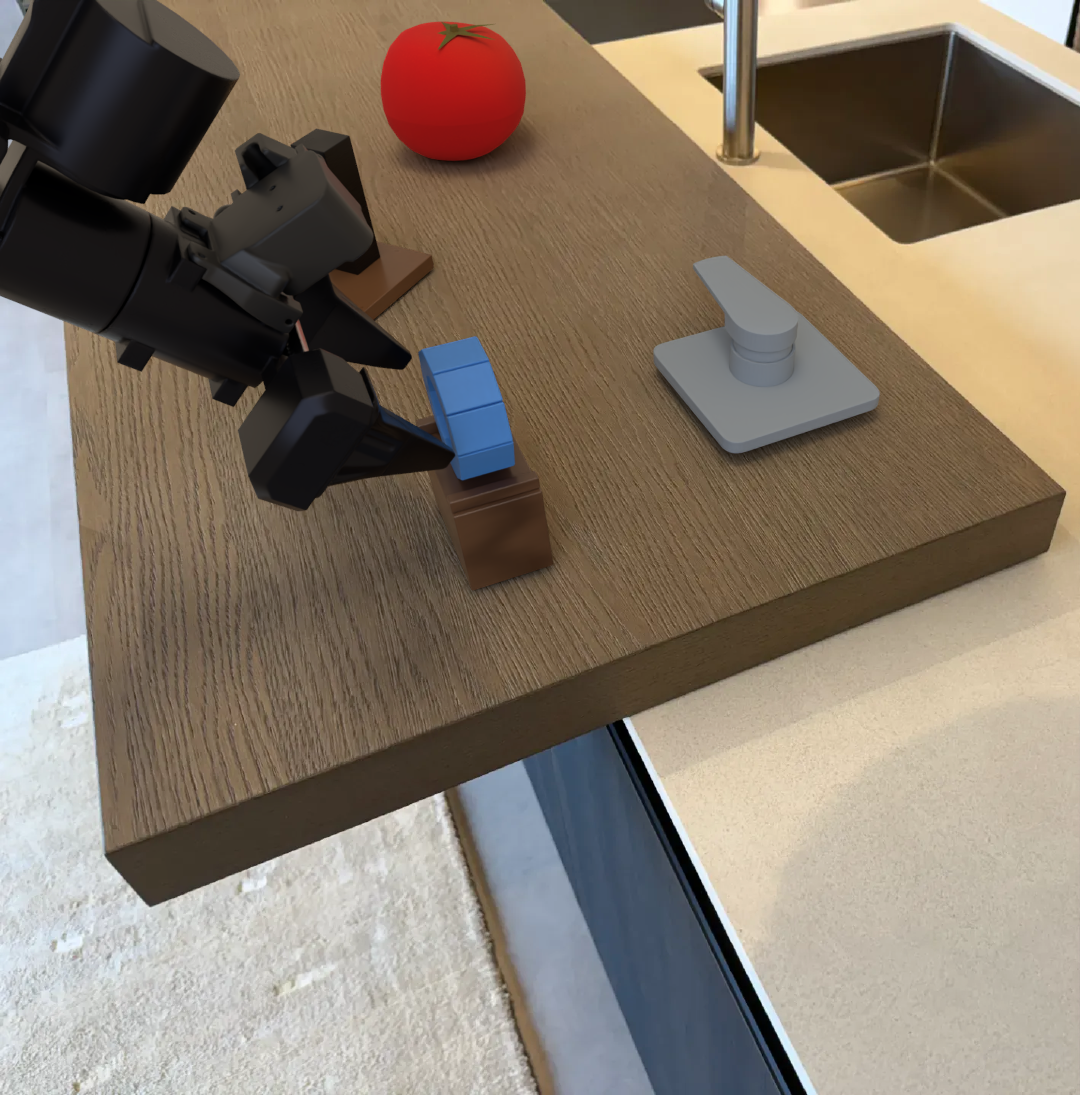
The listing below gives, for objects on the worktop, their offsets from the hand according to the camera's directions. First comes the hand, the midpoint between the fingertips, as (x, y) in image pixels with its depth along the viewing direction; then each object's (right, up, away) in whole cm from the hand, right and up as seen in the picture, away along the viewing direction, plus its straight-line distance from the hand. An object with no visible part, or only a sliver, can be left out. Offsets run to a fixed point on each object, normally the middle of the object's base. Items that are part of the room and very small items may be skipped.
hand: (427, 408), depth 55 cm
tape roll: (+2, -2, +4) cm, 5 cm away
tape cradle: (+2, -7, +8) cm, 11 cm away
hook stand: (-15, +12, +25) cm, 32 cm away
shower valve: (+18, +5, +20) cm, 27 cm away
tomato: (-9, +31, +44) cm, 55 cm away
